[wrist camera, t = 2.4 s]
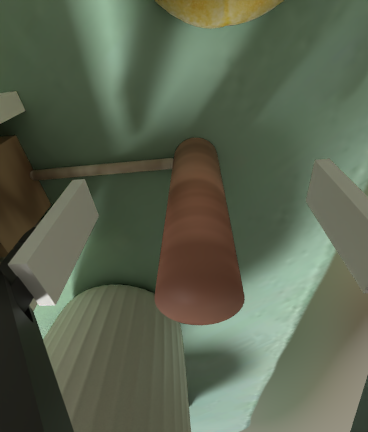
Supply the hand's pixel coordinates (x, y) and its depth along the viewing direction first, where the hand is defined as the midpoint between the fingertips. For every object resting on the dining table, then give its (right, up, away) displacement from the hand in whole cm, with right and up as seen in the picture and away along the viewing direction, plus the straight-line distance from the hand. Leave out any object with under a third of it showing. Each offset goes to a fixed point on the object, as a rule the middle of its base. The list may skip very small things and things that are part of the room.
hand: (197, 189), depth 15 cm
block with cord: (-8, +2, +4) cm, 10 cm away
